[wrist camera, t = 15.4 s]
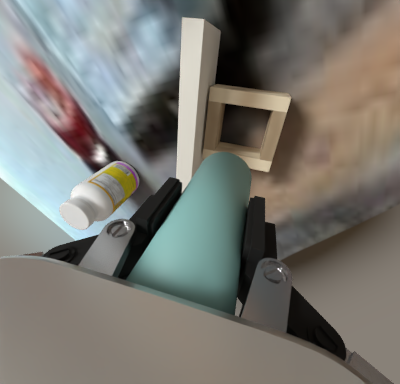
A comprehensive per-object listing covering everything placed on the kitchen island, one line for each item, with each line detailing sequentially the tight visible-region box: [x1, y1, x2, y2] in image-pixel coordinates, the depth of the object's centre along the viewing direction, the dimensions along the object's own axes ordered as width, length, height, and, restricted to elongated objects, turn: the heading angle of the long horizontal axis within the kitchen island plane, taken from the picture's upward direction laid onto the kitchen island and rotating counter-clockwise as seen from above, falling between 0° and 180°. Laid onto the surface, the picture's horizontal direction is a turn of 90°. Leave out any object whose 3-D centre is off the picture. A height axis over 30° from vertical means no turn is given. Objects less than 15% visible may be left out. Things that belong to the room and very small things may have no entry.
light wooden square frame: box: [202, 84, 291, 172], centre depth 27 cm, size 9×9×4 cm
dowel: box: [126, 152, 251, 315], centre depth 11 cm, size 4×4×12 cm
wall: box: [176, 17, 221, 193], centre depth 27 cm, size 2×22×8 cm, turn 174°
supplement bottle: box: [59, 161, 139, 230], centre depth 34 cm, size 7×7×13 cm
